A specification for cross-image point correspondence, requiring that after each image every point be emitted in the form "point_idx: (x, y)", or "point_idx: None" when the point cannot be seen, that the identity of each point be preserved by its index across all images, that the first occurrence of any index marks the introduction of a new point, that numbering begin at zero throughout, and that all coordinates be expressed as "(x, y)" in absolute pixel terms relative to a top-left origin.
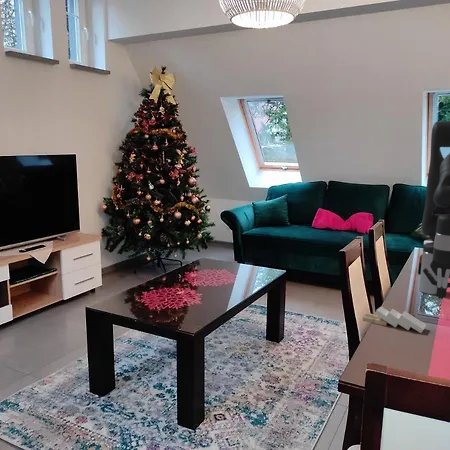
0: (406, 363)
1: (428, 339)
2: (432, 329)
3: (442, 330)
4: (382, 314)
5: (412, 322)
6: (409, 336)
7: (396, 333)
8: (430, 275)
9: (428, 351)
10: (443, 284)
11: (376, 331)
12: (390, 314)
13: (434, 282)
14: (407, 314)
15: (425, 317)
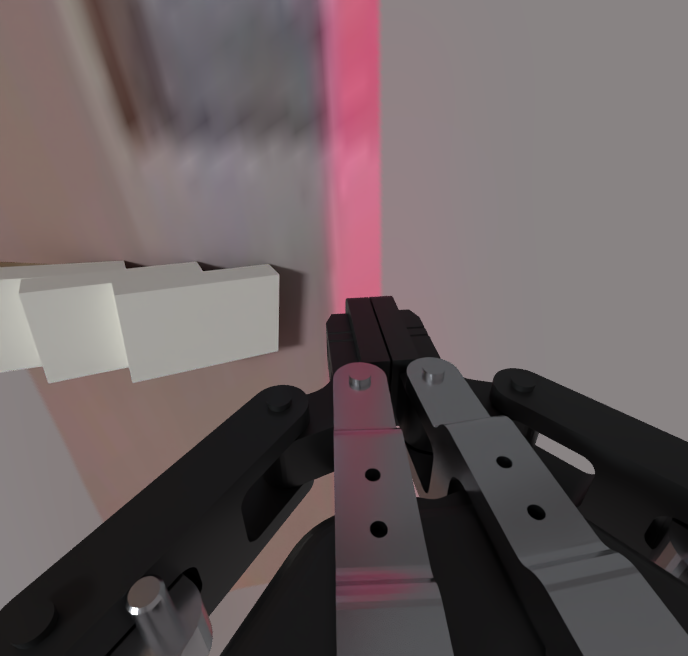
0: (278, 566)
1: (311, 383)
2: (312, 248)
3: (364, 231)
4: (17, 368)
5: (212, 364)
6: (230, 397)
7: (169, 398)
8: (224, 591)
9: (325, 476)
10: (412, 468)
11: (84, 424)
12: (66, 377)
13: (300, 490)
14: (152, 316)
15: (230, 11)
